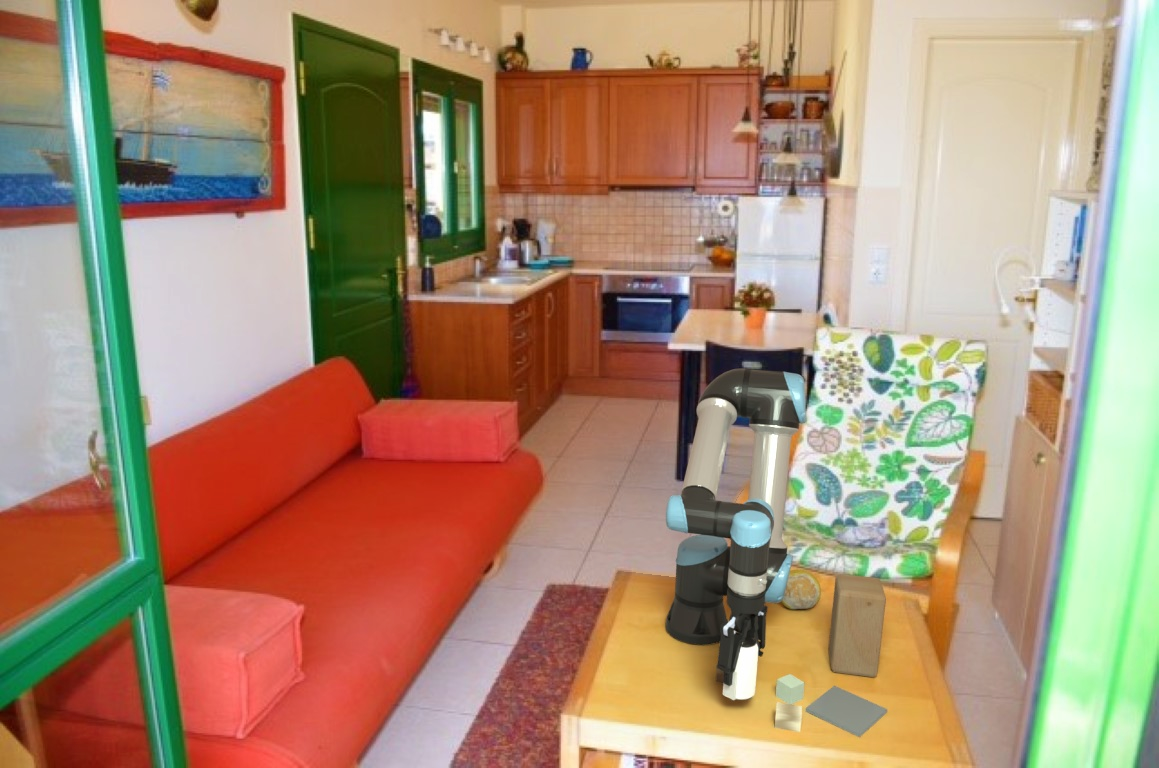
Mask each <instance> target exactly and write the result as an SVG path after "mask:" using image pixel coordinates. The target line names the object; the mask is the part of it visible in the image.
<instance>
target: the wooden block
mask: <svg viewBox="0 0 1159 768" xmlns="http://www.w3.org/2000/svg"><path fill="white" fill-rule="evenodd" d="M832 601H833V602H832V609H831V619H830V629H829V632H830V633H829V640H828V649H827V650H828V656H829V663H830V669H831V671H832V672H834V673H837V674H847V675H854V676H861V677H862V676H863V677H868V678H869V677H870V678H875V677H877V675H878V671H879V664H880V663H879V662H880V656H881V646H882V637H883V629H884V628H883V627H884V621H885V613H886V612H885V610H886V603H887V598H886V594H885V591H884V587H883V583H882V581H881V579H880V578H878V577H871V576H861V575H852V574H844V573H838V574H836V577H835V580H834V590H833V600H832Z"/></svg>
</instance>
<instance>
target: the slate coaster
mask: <svg viewBox="0 0 1159 768" xmlns="http://www.w3.org/2000/svg"><path fill="white" fill-rule="evenodd" d="M805 712H806V713H809V714H810V715H813V716H814V717H816V718H818V719H821V720H823V721H825V722H826V723H830V724H831V725H833V726H836V727H837V728H840V729H841V730H844V731H845V732H847V733H850V734H852V735H854V736H856V737H858V738H860V737H861V736H863V735H864V734H865V733H866V732H867V731H868V730H870V729H871V727H872V726H874V725H875V724H876V723H877V722H878V721H879V720H880V719H882V718H883V717H884V716H885V715H886V714H887V713H888V708H886V707H883V705H882V706H881V705H879V704H877V703H874V702H872V701H870V700H868V699H867V698H864V697H862V696H859V695H856V694H855V693H852V692H850V691H849V690H848V691H847V690H845V689H843V688H841V687H839V686H837V685H833V686H832V687H831V688H829V689H828V690H827V691H825V692H824V693H823V694H821V695H820V696H819V697H817V698H816V699H815V700H814V701H813V702H811V703H810V704H809V705H807V706H806V707H805Z"/></svg>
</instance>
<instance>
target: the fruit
mask: <svg viewBox="0 0 1159 768" xmlns="http://www.w3.org/2000/svg"><path fill="white" fill-rule="evenodd" d="M821 595H822V589H821V584H820V582H819V580H818V579H817V577H816V576H815V575H814V574H813V573H812V572H810V571H807V570H804V569H790V573H789V577H788V581H787V585H786V590H785V594H784V597H783V600H782V601H781V602H780V603H781V604H782V605H783V606H784V607H785V608H787V609H790V610H799V609H800V610H803V609H812V608H813V607H814V606H816V605H817V604H818V602H819V601H820V599H821Z"/></svg>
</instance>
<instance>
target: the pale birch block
mask: <svg viewBox="0 0 1159 768" xmlns="http://www.w3.org/2000/svg"><path fill="white" fill-rule="evenodd" d="M802 717H803V706H802V705H798V704H792V705H791V704H787V703H786V702H785V703H784V702H778V701H777V702H776V706H775V717H774V729H780V730H784V731H785V730H786V731H791V732H797V733H801V727H802V719H803V718H802Z"/></svg>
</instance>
